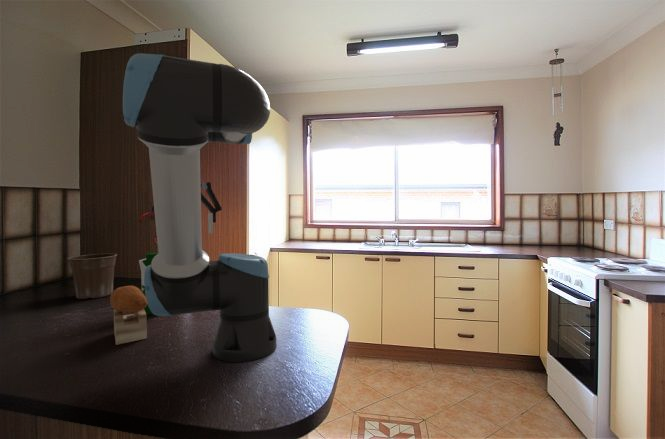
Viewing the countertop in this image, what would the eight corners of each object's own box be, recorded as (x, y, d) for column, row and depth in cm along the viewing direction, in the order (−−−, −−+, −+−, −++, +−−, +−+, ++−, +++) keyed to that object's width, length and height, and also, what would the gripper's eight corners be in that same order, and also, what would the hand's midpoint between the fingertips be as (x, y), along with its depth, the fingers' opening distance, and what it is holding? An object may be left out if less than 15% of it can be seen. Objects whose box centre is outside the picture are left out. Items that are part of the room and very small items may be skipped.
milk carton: (137, 315, 108) (135, 254, 108) (154, 306, 117) (153, 250, 117) (162, 315, 107) (160, 254, 107) (178, 307, 116) (176, 250, 116)
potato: (135, 305, 97) (134, 280, 97) (153, 313, 89) (152, 287, 89) (106, 310, 92) (105, 285, 91) (122, 320, 83) (122, 292, 83)
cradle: (147, 338, 88) (146, 314, 88) (115, 344, 84) (115, 319, 84) (143, 327, 97) (142, 305, 96) (114, 332, 93) (113, 310, 92)
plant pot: (58, 299, 128) (57, 258, 128) (98, 289, 144) (97, 252, 143) (89, 302, 124) (88, 259, 123) (127, 292, 139) (126, 253, 139)
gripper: (223, 169, 113) (224, 231, 114) (139, 164, 98) (141, 235, 99) (230, 167, 107) (231, 232, 107) (142, 161, 92) (144, 237, 93)
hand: (188, 234), depth 103 cm, fingers open, 13 cm apart
